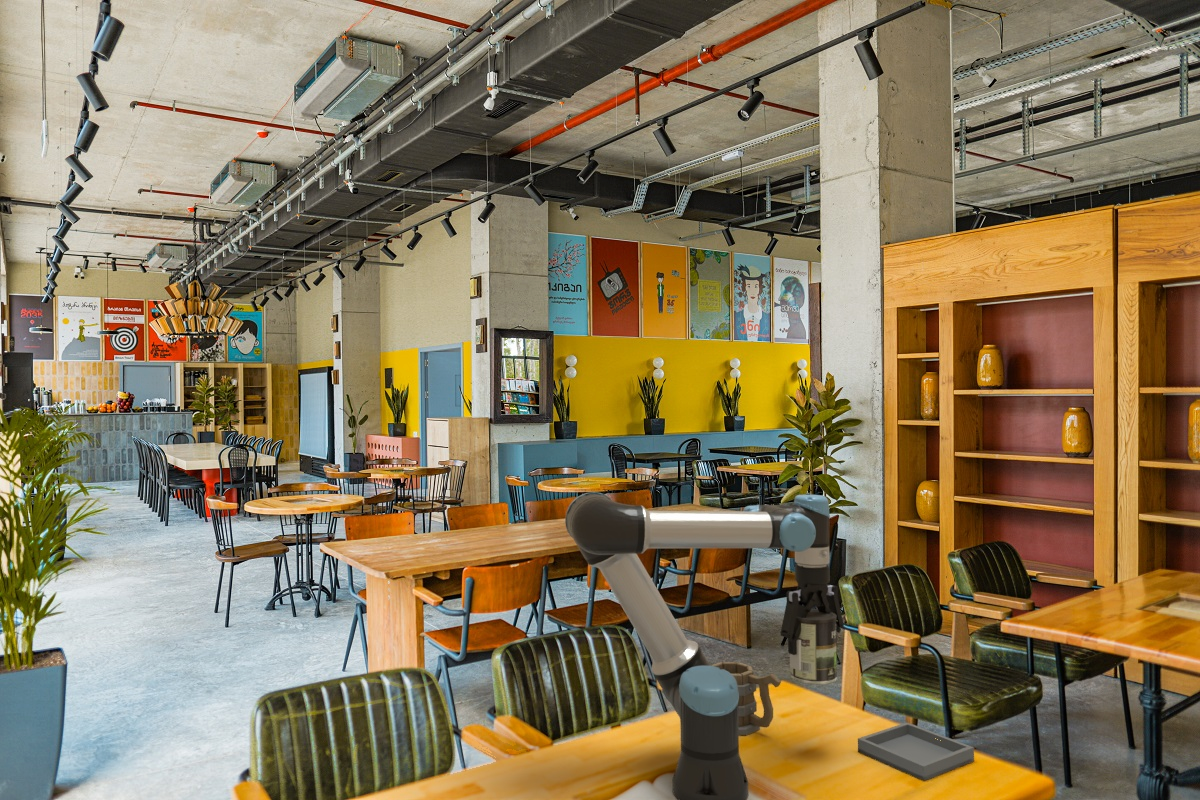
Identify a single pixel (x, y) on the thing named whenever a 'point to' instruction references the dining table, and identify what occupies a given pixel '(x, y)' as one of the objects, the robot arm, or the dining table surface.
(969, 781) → the dining table surface
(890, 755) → the tray
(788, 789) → the dining table surface
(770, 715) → the tankard
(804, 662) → the coffee can
